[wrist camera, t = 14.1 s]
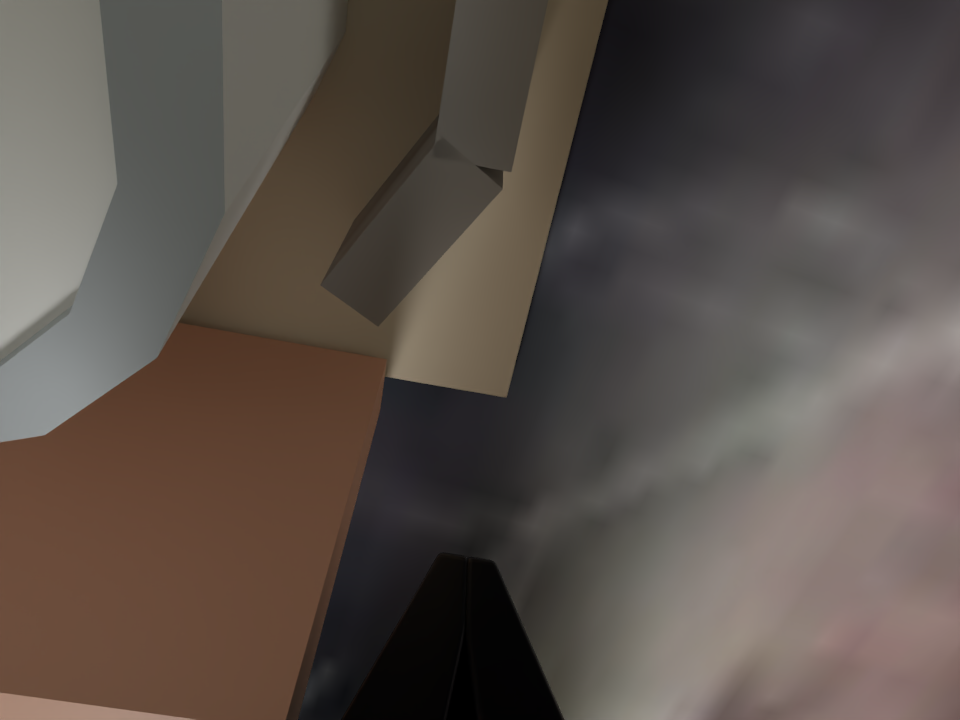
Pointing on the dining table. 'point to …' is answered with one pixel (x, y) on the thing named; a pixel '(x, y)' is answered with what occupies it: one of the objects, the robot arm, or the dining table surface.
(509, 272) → the dock
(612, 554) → the dining table surface
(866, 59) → the dining table surface
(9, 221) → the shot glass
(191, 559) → the block
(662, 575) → the dining table surface
